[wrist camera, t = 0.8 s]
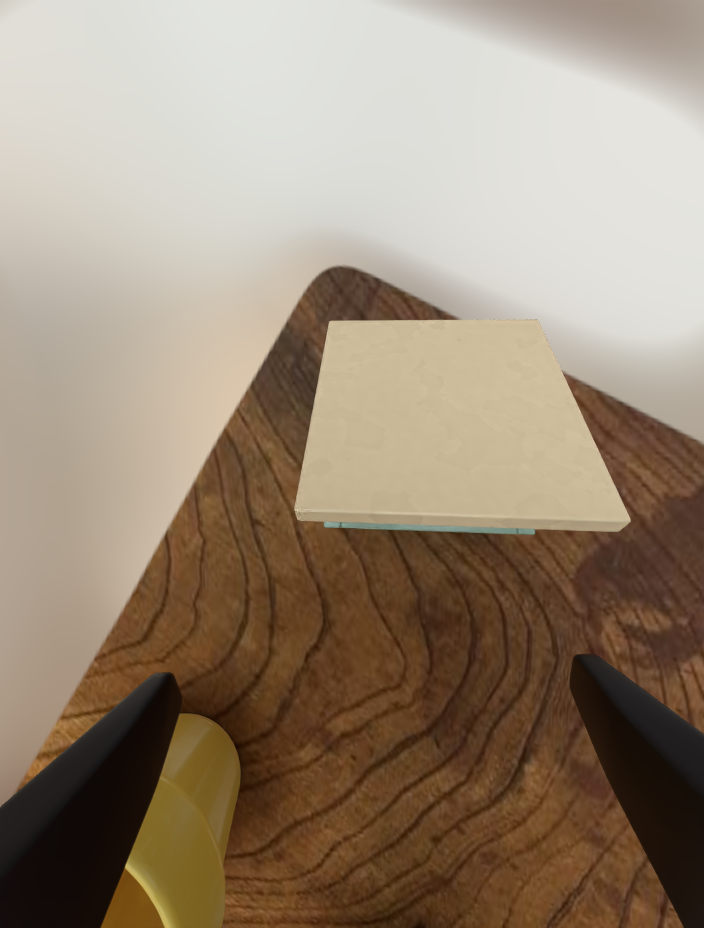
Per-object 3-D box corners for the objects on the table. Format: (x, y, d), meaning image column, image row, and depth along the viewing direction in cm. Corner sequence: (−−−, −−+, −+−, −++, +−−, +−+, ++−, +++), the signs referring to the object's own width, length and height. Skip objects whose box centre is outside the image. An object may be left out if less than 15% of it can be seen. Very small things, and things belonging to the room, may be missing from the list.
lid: (619, 533, 11) (633, 521, 10) (297, 522, 11) (293, 510, 11) (532, 332, 17) (538, 318, 16) (330, 333, 18) (329, 320, 17)
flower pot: (239, 896, 21) (117, 1246, 11) (83, 825, 22) (-155, 1087, 12) (296, 717, 21) (229, 897, 12) (143, 656, 22) (-36, 776, 13)
